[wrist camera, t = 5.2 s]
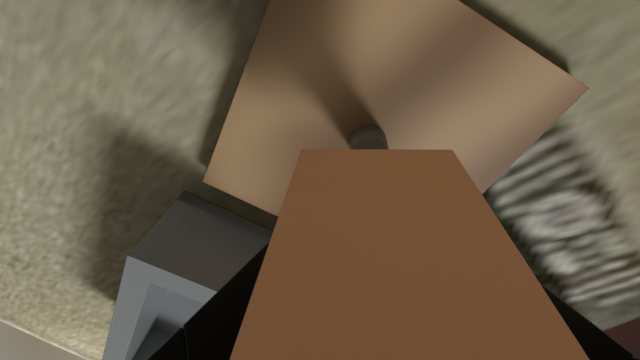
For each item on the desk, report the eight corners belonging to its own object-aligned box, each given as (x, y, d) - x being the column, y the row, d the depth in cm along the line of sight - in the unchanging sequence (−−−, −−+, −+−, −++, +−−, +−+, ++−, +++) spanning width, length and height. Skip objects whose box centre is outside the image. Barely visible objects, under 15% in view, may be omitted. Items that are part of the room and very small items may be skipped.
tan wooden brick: (452, 149, 8) (1051, 1067, 1) (430, 260, 10) (595, 823, 3) (301, 148, 8) (71, 823, 2) (309, 255, 10) (226, 748, 4)
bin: (393, 286, 19) (404, 367, 15) (299, 377, 26) (289, 450, 22) (183, 191, 17) (127, 255, 13) (141, 318, 24) (95, 388, 20)
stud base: (573, 81, 12) (712, 134, 8) (398, 260, 18) (415, 354, 13) (310, -93, 10) (274, -171, 6) (210, 172, 16) (151, 244, 11)
